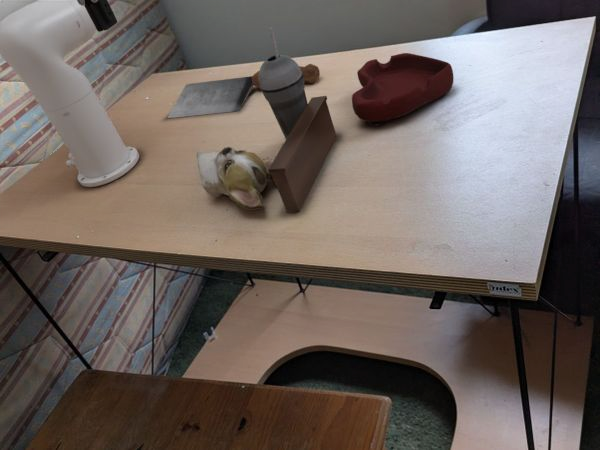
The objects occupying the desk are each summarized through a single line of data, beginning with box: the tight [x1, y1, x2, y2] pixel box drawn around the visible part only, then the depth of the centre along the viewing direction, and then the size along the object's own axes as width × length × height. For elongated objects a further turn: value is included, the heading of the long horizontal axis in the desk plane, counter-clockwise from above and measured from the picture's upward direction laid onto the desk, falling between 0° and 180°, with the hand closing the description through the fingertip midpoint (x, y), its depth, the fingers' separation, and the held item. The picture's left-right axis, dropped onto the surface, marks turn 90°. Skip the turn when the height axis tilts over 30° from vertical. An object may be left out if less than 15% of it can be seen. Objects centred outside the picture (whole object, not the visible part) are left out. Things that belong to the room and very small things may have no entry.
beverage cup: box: [258, 27, 309, 140], centre depth 89 cm, size 7×7×20 cm
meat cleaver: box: [167, 63, 321, 119], centre depth 117 cm, size 34×11×4 cm, turn 69°
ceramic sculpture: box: [196, 146, 274, 211], centre depth 85 cm, size 11×9×15 cm
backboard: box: [268, 95, 338, 213], centre depth 84 cm, size 3×20×8 cm, turn 161°
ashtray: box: [351, 52, 455, 126], centre depth 94 cm, size 18×16×5 cm
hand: (108, 27), depth 83 cm, fingers closed
